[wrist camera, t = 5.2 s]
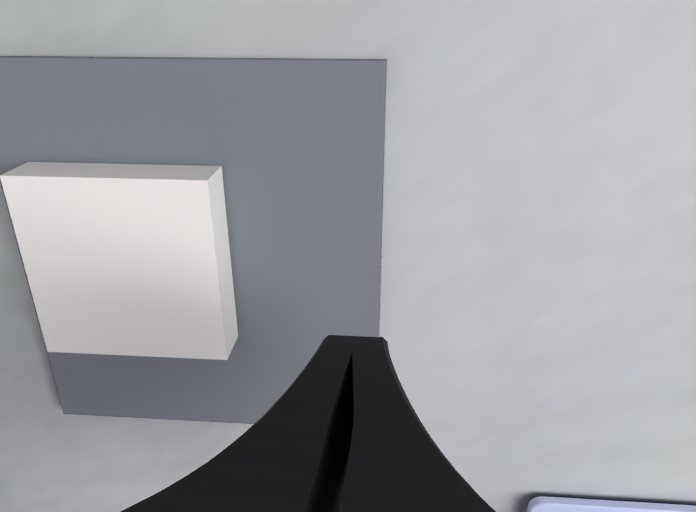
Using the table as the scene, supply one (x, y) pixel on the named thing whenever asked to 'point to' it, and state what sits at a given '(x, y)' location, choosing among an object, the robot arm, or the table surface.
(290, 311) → the mat
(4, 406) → the table surface
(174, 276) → the tile
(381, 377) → the robot arm
